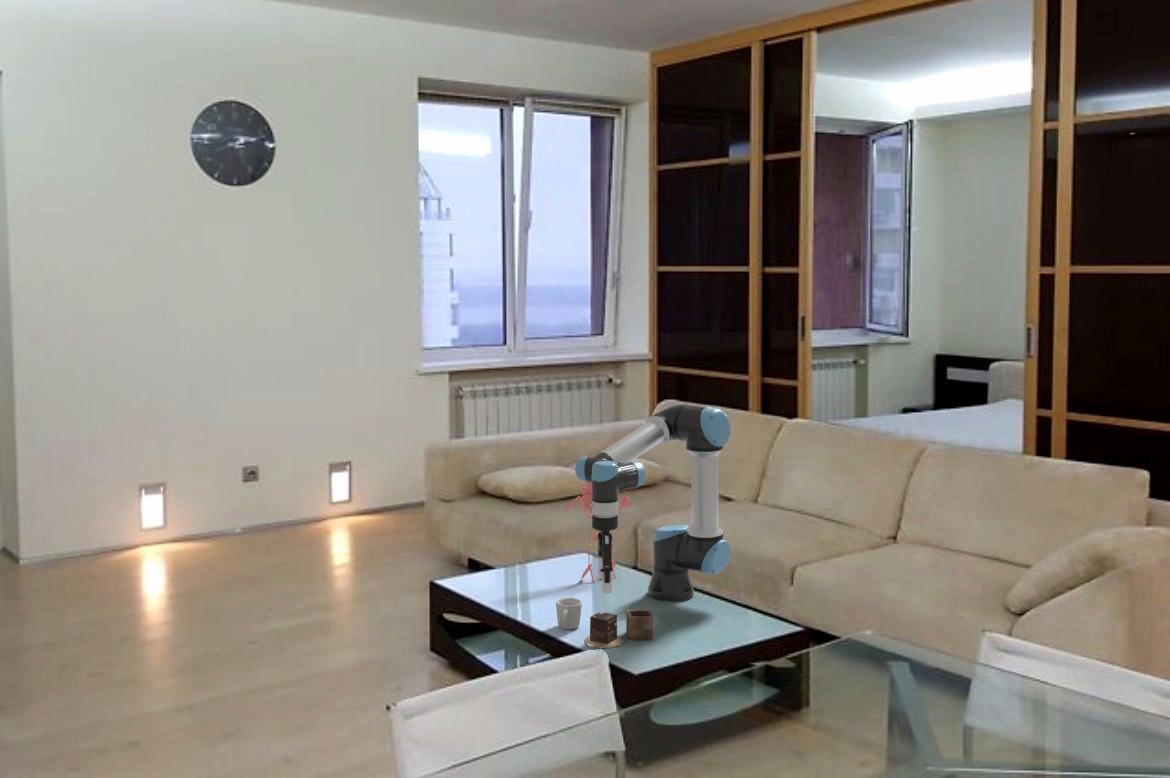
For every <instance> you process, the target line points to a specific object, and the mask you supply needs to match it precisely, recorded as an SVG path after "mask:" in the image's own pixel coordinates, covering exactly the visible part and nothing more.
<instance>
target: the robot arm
mask: <svg viewBox="0 0 1170 778" xmlns="http://www.w3.org/2000/svg"><path fill="white" fill-rule="evenodd" d="M731 428H732V427H731V423H730V419H729V417H728V415H727V414H726V413H725V411H723V410H722V409H719V408H714V407H711V406H710V407H709V406H700V405H690V404H675V405H673V406H669V407H667V408H664V409H662V410H660V411H658V412H655V413H654V414H653V415H651V416H650V417H648V418H647V419H646V421H645V423H644V424H642V426H640V427H638V428H636V429H635V430H633V431H632V432H630V433H629V434H627V435H625V436H624V437H622V438H621V439H619V440H617V442H615V443H613V444H612V445H610V446H608V447H607V448H605V449H603V451H600V452H599V453H597V454H596V455H594V456H592V457H591V456H581V457H579V459H578V460H577V461H576V463H575V465H574V466H575V468H574V471H575V476H576V477H577V479H578V480H580V481H583V482H588V483H592V503H593V504H590V507H592V513H593V514H592V515H593V516H592V517H591V528H592V529H593V530H596V531H597V530H598V541H597V543H598V544H597V545H598V546H597V556H598V558H597V560H598V563H597V565H598V567H597V568H598V573H597V574H598V575H597V576H598V580H601V594H612V593H613V589H612V586H613V583H612V581H613V577H612V575H613V574H612V573H613V571H612V570H613V568H612V560H613V559H612V558H613V551H612V552H611V549H612V550H613V548H612V542H613V535H612V533H611V532H610V531H615V530H616V529H618V526H619V520H618V519H619V516H618V515H619V512H618V509H619V500H618V499H619V493H620V492H624V491H627V490H631V489H637V488H638V487H640V486H642V485H643V484H645V483H646V479H647V471H646V468H645V467H644V465H643V464H642V463H640V462H638V461H634V460H636V459H637V458H639V457H640V456H642V455H643V454H645V453H646V452H648V451H650V450H651V449H653V448H654V447H655V446H657V445H664V444H666V443H667V442H669V441H682V442H683V441H684V442H685V443H686V444H685V446H686V447H685V448H686V451H687V452H688V453H689V454H690V456H691V457H690V459H691V461H690V462H691V463H690V465H691V466H690V470H691V471H690V473H691V475H690V476H691V483H690V484H691V527H689V526H688V525H685V524H678V525H677V524H676V525H675V524H672V525H666V526H661V527H658V528H656V529H655V531H654V534H653V535H654V536H653V541H652V542H653V573H652V575H651V577H650V580H649V584H648V587H647V595H648V596H649V598H652V599H654V600H657V601H664V602H680V601H681V602H682V601H683V602H684V601H687V600H690V599H692V598H693V597H694V594H695V593H694V589H695V588H694V586H693V583H692V580H691V579H692V578H691V576H690V573H689V570H690V571H691V570H692V571H694V572H695V571H696V572H698V573H702V574H704V575H705V574H706V575H707V574H708V575H718V574H721V572H723V571H724V570H725V568H726V567H727V565H728V563H729V561H730V559H731V554H732V547H731V544H730V542H729V541H727V540H726V539H724V530H723V529H721V527H720V526H719V455H720V453H721V452H722V451H723V450H724V446H725V445H726V444H728V442H729V440H730V439H729V437H730V436H731V431H732V430H731ZM608 566H609V567H608Z"/></svg>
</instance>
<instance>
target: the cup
mask: <svg viewBox="0 0 1170 778" xmlns="http://www.w3.org/2000/svg"><path fill="white" fill-rule="evenodd" d="M582 606H583V601H582V600H580V599H578V598H576V597H563V598H558V599H557V600H556V601H555V608H556V619H557V624H558V627H559V628H560V629H564V630H575V629H577V628H579V626H580V624H581V616H582Z"/></svg>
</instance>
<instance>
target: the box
mask: <svg viewBox="0 0 1170 778" xmlns="http://www.w3.org/2000/svg"><path fill="white" fill-rule="evenodd" d="M589 636H590V641H594V642H599V643H604V644H608V643H610V642H612V641H614V640H615V639H617V636H618V614H615V613H609V612H603V611H599V612H598V613H595V614H593V615H592V616H590V617H589Z"/></svg>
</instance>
